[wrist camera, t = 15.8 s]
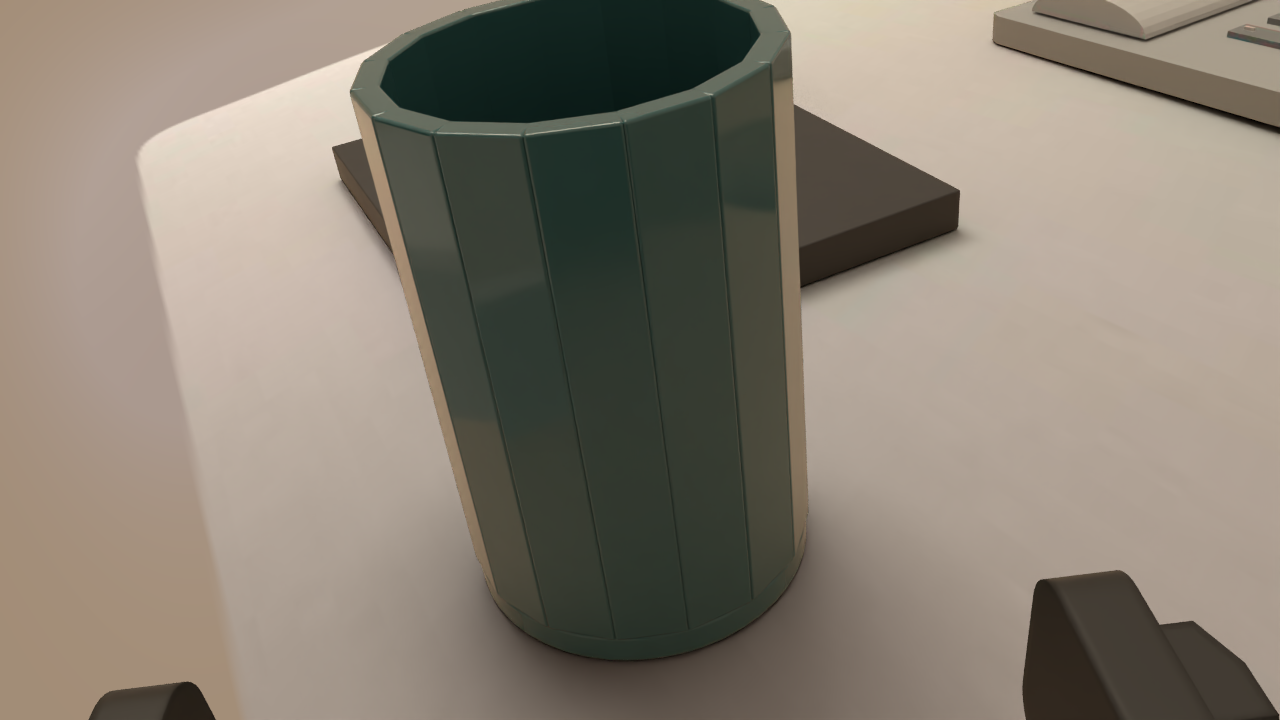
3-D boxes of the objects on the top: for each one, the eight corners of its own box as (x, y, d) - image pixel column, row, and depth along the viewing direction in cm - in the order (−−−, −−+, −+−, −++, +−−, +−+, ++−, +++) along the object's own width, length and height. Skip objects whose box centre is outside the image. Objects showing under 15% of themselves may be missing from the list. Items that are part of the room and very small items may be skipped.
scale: (494, 401, 26) (469, 294, 25) (338, 175, 39) (315, 94, 37) (979, 221, 31) (986, 120, 29) (701, 70, 44) (695, -6, 42)
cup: (558, 719, 19) (427, 180, 13) (441, 503, 24) (310, 47, 18) (873, 568, 21) (878, 46, 15) (705, 399, 26) (661, -41, 20)
